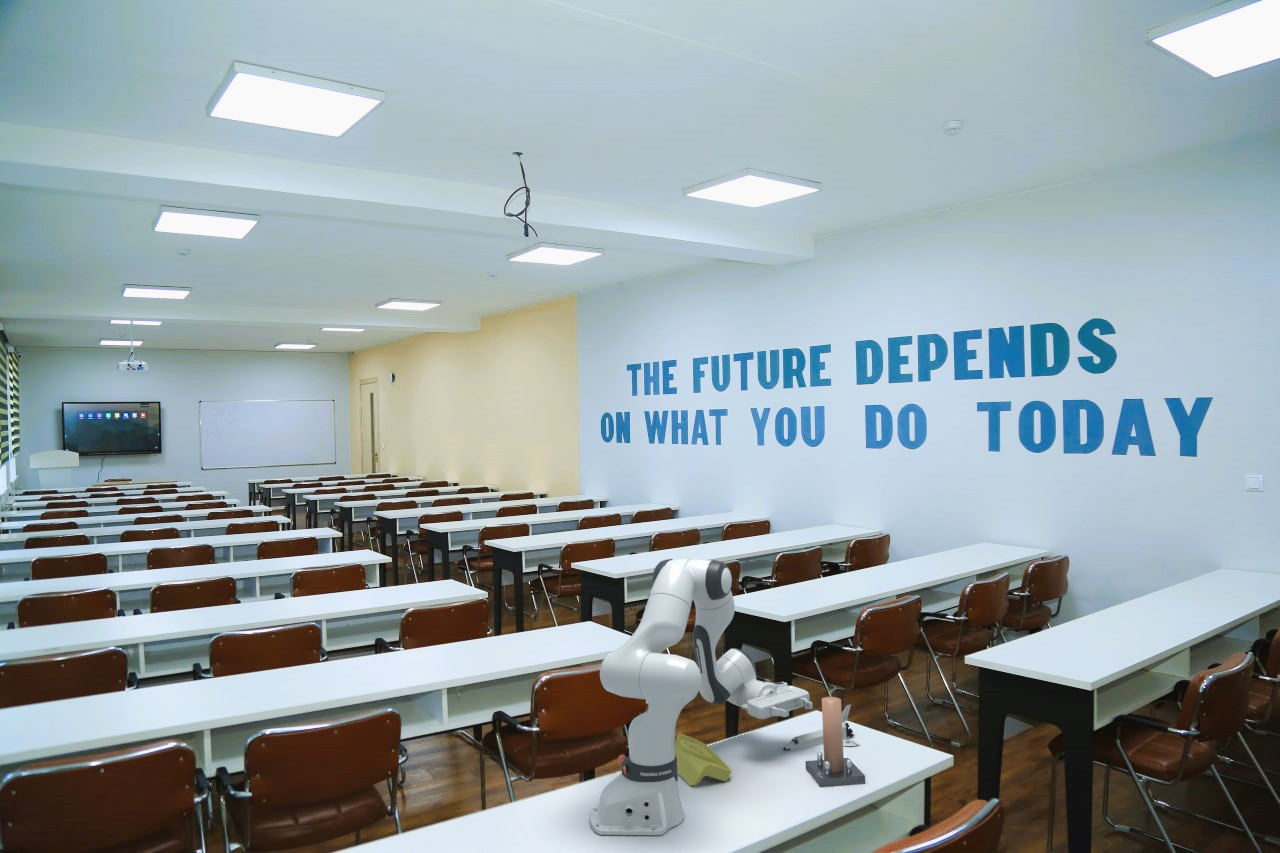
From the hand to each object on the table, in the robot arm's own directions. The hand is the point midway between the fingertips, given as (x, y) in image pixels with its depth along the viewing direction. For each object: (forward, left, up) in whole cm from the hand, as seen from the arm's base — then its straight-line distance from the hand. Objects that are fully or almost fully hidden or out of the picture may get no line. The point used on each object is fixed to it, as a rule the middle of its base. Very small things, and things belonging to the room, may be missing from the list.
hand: (799, 710), depth 220 cm
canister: (+6, -10, -12) cm, 17 cm away
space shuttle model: (+9, +13, -15) cm, 22 cm away
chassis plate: (+6, -10, -14) cm, 19 cm away
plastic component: (-28, -1, -15) cm, 32 cm away
